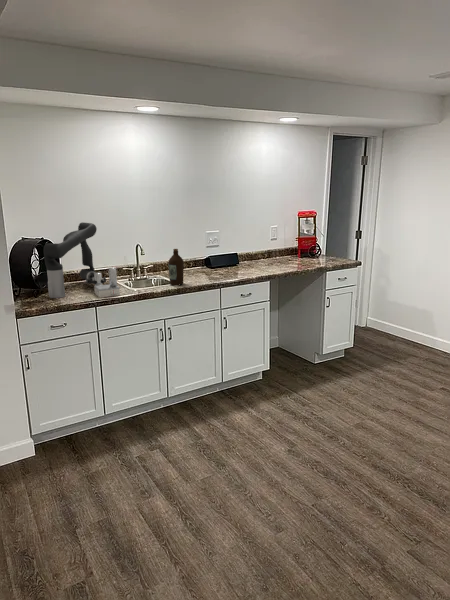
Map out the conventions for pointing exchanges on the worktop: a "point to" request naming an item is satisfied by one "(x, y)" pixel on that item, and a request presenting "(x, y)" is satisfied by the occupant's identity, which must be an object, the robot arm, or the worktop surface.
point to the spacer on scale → (112, 277)
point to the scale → (106, 290)
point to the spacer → (98, 278)
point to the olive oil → (176, 268)
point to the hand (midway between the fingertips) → (99, 282)
